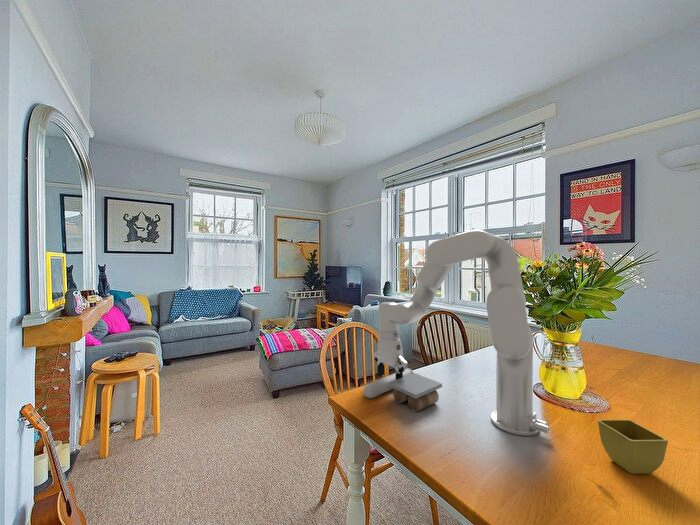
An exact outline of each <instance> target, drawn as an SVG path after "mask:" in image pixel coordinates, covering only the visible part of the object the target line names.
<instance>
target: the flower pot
mask: <svg viewBox="0 0 700 525" xmlns="http://www.w3.org/2000/svg"><path fill="white" fill-rule="evenodd" d="M597 424H598V430H599V437H600V441H601V444H602V447H603V448H604V450H605V452H606V454H607V455H608V457H609V458H610V460H611V461H612V462H614V463H616V464H617V465H618V466H620V467H621V468H622V469H624V470H625V471H627V473H629V474H632V475H633V474H635V475H636V474H637V475H638V474H644V475H645V474H650V475H651V474H653V473H654V472H656V471H657V470H659V468H660V467H661V466H662V464H663V462H664V460H665V456H666V453H667V446H668V442H669V440H668V439H667V438H665V437H663V436H662V435H659V434H658V433H656V432H654V431H652V430H650V429H648V428H646V427H645V426H642V425H641V424H639V423H637V422H635V421H633V419H597Z"/></svg>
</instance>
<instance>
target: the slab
mask: <svg viewBox="0 0 700 525" xmlns="http://www.w3.org/2000/svg"><path fill="white" fill-rule="evenodd" d="M413 373H414V374H411V375H408V376H405V377H402V378H400V379H397V380H394V381H391V382H389V386H390V387H392V388H394V389H396V390H398V391H401V392H403V393H405V394H407V395H409V396H411V397H413V398H415V399H416V398H418V397H421V396H423V395H425V394H427V393H430V392H432V391H434V390H436V391H437V390H439V389H441V388H442V387H443V383H441V382H439V381H436V380H435V379H431V378H428V377H426V376H424V375H421V374H418V373H415V372H413ZM394 389H393V390H394Z"/></svg>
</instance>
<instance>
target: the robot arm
mask: <svg viewBox="0 0 700 525" xmlns="http://www.w3.org/2000/svg"><path fill="white" fill-rule="evenodd" d="M425 257H426V261H425V263H424V264H423V266H422V268H421V269H420V270H419V272H418V273H417V275H416V280H417V288H416V289H415V291H414V293H413V295H412V296H411V298H410V300H409V301H407V302H404V303H399V304H398V303H397V302H394V301H381V302H380V303H379V304H378V325H379V326H378V330H379V334H378V340H377V350H376V351H374V352H372V353H373V357H374V361H375V363H376V367H377V376H378V377H381V376H384V375H385V365H386V366H389V367H393V368H394V370H395V373H396V380H397V379H400V378H402V377H403V372H404V371H405V370H406V368H408V364H409V363H408V362H407V360H405V359H404V350H403V343H402V339H401V338H400V337H401V334H400V325H402V326H403V325H404V326H405V325H407V326H408V325H410V324H412V323H414V322H416V321H418V320H420V319H421V318H422V317H423V316H424V315H425V313H426V312H427V310H428V309H429V307H430V306H431V304H433V301H434V299H435V297H436V295H437V293H438V290H439V288H440V287H441V285H442V284H443V282H444V280H445V279H446V278H447V276H448V275H449V273H450V272H451V271H452V269H453V268H454V266H455V265H456V264H458V263H463V262H466V261H470V260H474V259H483V260H485V261H486V263H487V270H488V277H489V283H490V291H489V292H488V295H487V297H486V302H485V303H486V312H487V319H488V320H487V321H488V325H489V333H490V339H491V343H492V346H493V349H495V351H496V364H495V366H496V369H495V370H496V372H495V373H496V375H495V376H496V380H495V381H496V382H495V383H496V390H495V391H496V395H495V398H496V401H495V404H496V405H495V406H496V408H495V409H496V410H494V411H492V412H491V414H490V420H491V422H492V423H493V425H494V426H496V427H497V428H498V429H500V430H503V431H505V432H507V433H509V434H513V435H516V436H522V437H523V436H524V437H527V436H528V437H529V436H535V435H537V434H538V433H539V432H542V433H544V434H547V435H548V434H549V431H550V426H548V422H547V421H544V420H542V419H541V420H540V419H539V418H538V417H537V412H536V411H533V410H534V409H533V408H534V407H533V402H534V399H533V394H534V392H533V386H534V385H533V384H534V383H533V381H534V378H533V376H534V368H533V367H534V362H533V361H534V334H533V331H532V328H531V327H530V326H529V323H528V317H527V311H526V304H527V299H526V298H527V297H526V295H525V291H524V290H525V289H524V286H523V281H522V275H521V270H520V266H519V260H518V257H517V253H516V251H515V249H514V248H513V246H512V245H511V244H510V243H509V242H508V241H507V240H505V238H503V237H501V236H498V235H495V234H493V233H490V232H486V231H485V230H480V229H471V230H468V231H464V232H461V233H457V234H455V235H451V236H448V237H445V238H442V239H438V240H435V241H433V242H432V243H430V244H429V245H428V246H427V249H426V251H425Z"/></svg>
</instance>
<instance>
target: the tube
mask: <svg viewBox="0 0 700 525" xmlns="http://www.w3.org/2000/svg"><path fill="white" fill-rule="evenodd" d="M396 373H397V372H395V373H391V374H389V375H387V376H385V377H382V378H380V379H377V380H373V381H372V382H369V383H367V384H366V385H365V387H364V388H363V395H364V397H365V398H368V399H370V398H373V399H374V397H375V398H377V397H379V396H381V395H380V394H382V393H384V392H386V393H388V392H390V391H389V390H391V389H393V388H392V387H390V386H389V382H391V381H394V380H396ZM414 373H415V372H414V371H413V370H412V369H411V368H408V367H406V370H405V371H404V372H403V377H405V376H408V375H411V374H414ZM393 390H394V389H393ZM387 391H388V392H387ZM391 391H392V390H391ZM384 394H385V393H384ZM378 395H379V396H378ZM382 395H383V394H382ZM376 396H377V397H376Z"/></svg>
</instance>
